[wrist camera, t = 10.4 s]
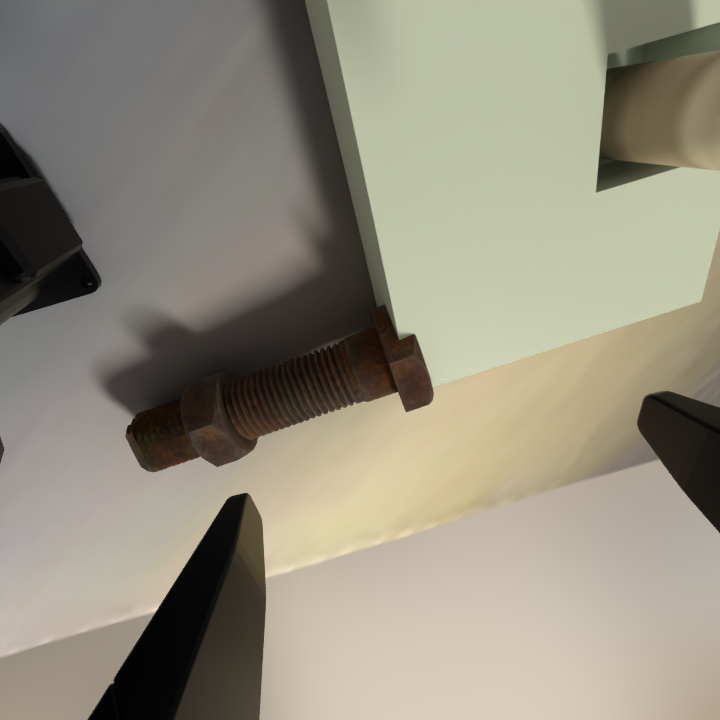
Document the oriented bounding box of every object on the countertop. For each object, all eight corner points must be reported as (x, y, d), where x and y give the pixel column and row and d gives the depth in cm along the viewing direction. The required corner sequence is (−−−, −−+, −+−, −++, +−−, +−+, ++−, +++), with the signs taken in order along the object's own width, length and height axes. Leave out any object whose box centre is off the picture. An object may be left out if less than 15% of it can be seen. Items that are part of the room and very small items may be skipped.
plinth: (387, 348, 22) (410, 394, 19) (278, -108, 13) (282, -208, 9) (629, 272, 23) (700, 301, 19) (702, -219, 13) (873, -357, 10)
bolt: (157, 390, 23) (397, 304, 22) (187, 469, 23) (426, 388, 22) (83, 409, 17) (403, 295, 16) (124, 514, 18) (442, 407, 17)
